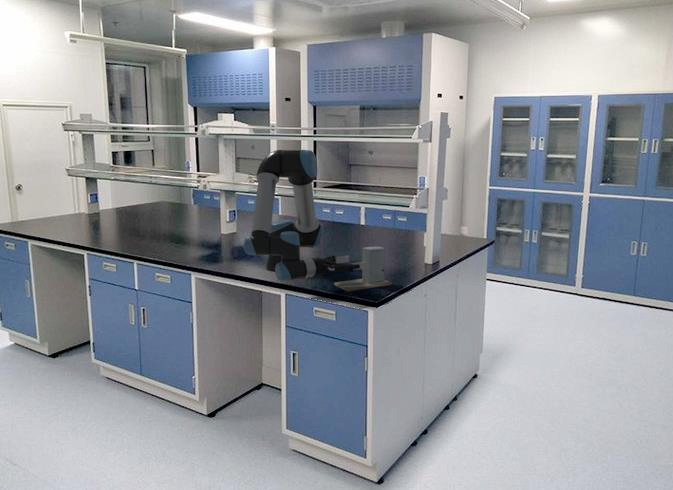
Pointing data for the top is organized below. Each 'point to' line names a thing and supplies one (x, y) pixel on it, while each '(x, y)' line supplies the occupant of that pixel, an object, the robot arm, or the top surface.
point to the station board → (359, 284)
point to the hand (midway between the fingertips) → (356, 261)
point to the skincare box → (373, 264)
